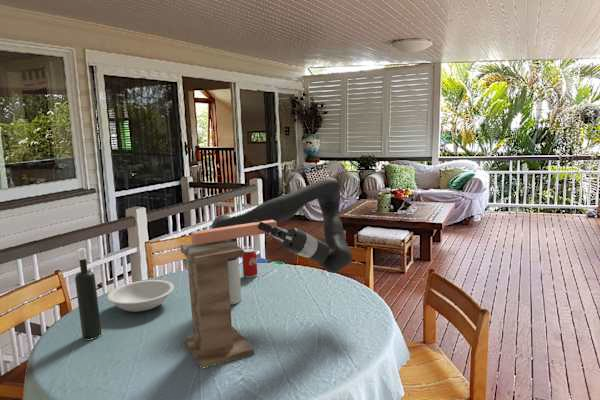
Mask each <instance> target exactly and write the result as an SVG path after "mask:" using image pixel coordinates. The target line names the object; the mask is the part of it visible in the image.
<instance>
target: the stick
mask: <svg viewBox="0 0 600 400" xmlns="http://www.w3.org/2000/svg"><path fill="white" fill-rule="evenodd" d="M260 222H263V223H265V224H267V225H270V226H274V227H275V228H277V227H278V223H277V221H274V220H267V221H260ZM260 222H254V223H247V224H240V225H234V226H227V227H221V228H214V229H212V228H208V229H202V230H195V231H191V232H190V236H191V243H193V244H194V245H199V244H205V243H211V242H217V241H223V240H229V239H235V238H237V239H240V238H245V237H246V238H247V237H253V236H258V235H263V234H268V232H269V231H268V232H265V231H263V230H261V229H259V228H258V225H259V223H260Z"/></svg>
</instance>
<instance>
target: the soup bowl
mask: <svg viewBox="0 0 600 400" xmlns="http://www.w3.org/2000/svg"><path fill="white" fill-rule="evenodd" d="M174 290H175V286H174V284H173V283H172V282H170V281H168V280H161V279H150V280H149V279H147V280H139V281H133V282H129V283H125V284H123V285H120V286H118V287H115V288H113V289H112V290H110V291H109V292H108V293H107V296H106V299H107V300H108V302H110V303H113V304H114V305H115V306H116V307H118V308H119V309H120V310H123V311H126V312H144V311H148V310H152V309H154V308H157V307H159V306H160V305H162V304H163V303H164V302H165V301H166V299H168V297H169V295H170V294H171V293H172V292H173V291H174Z"/></svg>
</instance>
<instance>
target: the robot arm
mask: <svg viewBox="0 0 600 400" xmlns="http://www.w3.org/2000/svg"><path fill="white" fill-rule="evenodd" d="M315 200H316V201H317V202H318V205H319V207H320V210H321V213H322V217H323V234H324V241H322V240H321V239H318V238H316V237H314V236H312V235H311V234H309V233H308V232H304V231H303V230H300V229H298V228H296V227H290V228H289V229H288V230H287V229H285V228H283V227H279V226H277V228H275V227H274V226H270V225H267V224H265V223H263V222H260V221H267V220H274V221H277V224H279V223H281V222H284V221H287V220H289V219H290V218H292V217H294V216H295V215H296V214H297V213H298V212H299V211H300V210H301V209H302V208H303V207H304V206H306V205H307V204H309V203H311V202H312V201H315ZM340 203H341V187H340V182H339V180H338V179H336V178H334V177H325V178H322V179H319V180H317V181H315V182H313V183H310V184H308V185H306V186H304V187H301V188H299V189H297V190H295V191H293V192H292V191H291V192H289V193H287V194H284V195H280V196H278V197H275V198H272V199H269V200H266V201H265V202H263V203H261V204H258V205H257V206H256V207H254V208H252V209H251V210H249V211H248V212H246V213H242V214H239V215H237V216H236V215H235V216H233V217H231V216H230V215H228V214H227V215H226V214H222V215H219V216H217V217H216V218H215V219H213V221H212V224H211V229H214V228H221V227H227V226H234V225H240V224H247V223H254V222H260V223H259V225H258V228H259V229H261V230H263V231H265V232H268V231H269V232H268V233H267V236H268V235H269V236H270V237H273V238H274V239H275V240H277V241H280V242H281V243H282V247H283V249H284V250H286V251H289V252H290V253H294V254H295V255H298V256H301V257H304V258H307V259H310V260H311V261H315V262H316V263H317V264H318V265H320V266H321V267H322V268H323V269H324V270H325V271H326V272H328V273H330V274H331V273H332V274H337V273H339V272H340V271H342V270H343V269H344V268H345V267H347V266H348V265H350V264H351V262H352V260H353V253H352V251H351V248H350V247H349V244H348V242H347V241H346V239H345V233H344V227H343V224H342V223H343V222H342V220H341V216H340ZM233 241H236V245H237V246H238V247H239V245H238V238H235V239H231V242H233ZM330 250H331V251H330ZM227 264H228V278H229V293H230V306H231V305H235V304H236V305H237V304H239V303H240V302H241V301H242V291H241V290H242V288H241V274H240V273H241V271H240V257H237V258H232V259H227Z"/></svg>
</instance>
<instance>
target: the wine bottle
mask: <svg viewBox="0 0 600 400" xmlns="http://www.w3.org/2000/svg"><path fill="white" fill-rule="evenodd" d="M77 254H78V260H79V267H80V268H79V269H80V272H78V273H76V275H75V278H74V282H75V289H76V296H77V304H78V313H79V320H80V321H79V322H80V329H81V336H82V339H83V338H84V339H91V338H95V337H98V336H99V335H101V333H102V326H101V325H102V324H101V320H100V319H101V316H100V310H99V309H100V308H99V300H98V293H97V292H98V291H97V285H96V284H97V283H96V276H95V274H94V272H92V271H90V270H88V264H87V254H86V249H85V247H81V248H78V250H77ZM101 336H102V335H101ZM84 339H83V340H84Z"/></svg>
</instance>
